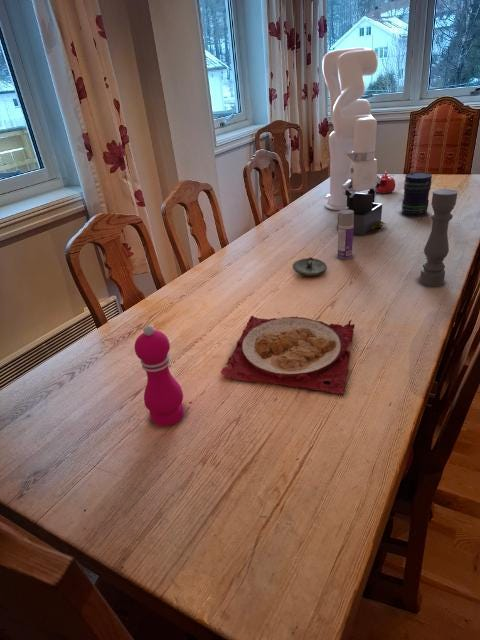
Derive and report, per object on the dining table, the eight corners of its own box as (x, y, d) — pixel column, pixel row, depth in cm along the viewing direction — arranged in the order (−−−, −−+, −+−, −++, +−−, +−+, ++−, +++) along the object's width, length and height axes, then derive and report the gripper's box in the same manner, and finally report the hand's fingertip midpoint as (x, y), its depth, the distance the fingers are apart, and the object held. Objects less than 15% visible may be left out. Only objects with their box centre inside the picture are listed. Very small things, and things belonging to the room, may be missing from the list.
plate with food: (251, 322, 110) (250, 310, 108) (354, 329, 102) (355, 316, 100) (219, 380, 91) (217, 367, 89) (343, 394, 83) (343, 380, 81)
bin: (356, 218, 172) (358, 187, 166) (380, 221, 166) (383, 189, 160) (337, 231, 161) (338, 198, 155) (362, 235, 155) (365, 200, 149)
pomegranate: (386, 188, 210) (388, 168, 205) (399, 192, 201) (401, 171, 197) (368, 191, 207) (370, 171, 203) (381, 195, 199) (382, 175, 194)
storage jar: (432, 212, 172) (437, 174, 164) (416, 218, 167) (421, 179, 160) (411, 208, 179) (415, 171, 172) (395, 213, 175) (399, 176, 167)
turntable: (329, 228, 166) (329, 227, 166) (357, 218, 173) (357, 217, 173) (362, 238, 154) (362, 237, 154) (390, 226, 162) (390, 225, 162)
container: (351, 253, 143) (353, 209, 135) (353, 259, 139) (355, 213, 131) (336, 254, 143) (338, 209, 136) (338, 259, 139) (339, 214, 132)
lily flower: (383, 220, 168) (384, 208, 166) (389, 230, 158) (391, 218, 156) (352, 221, 170) (353, 210, 168) (356, 232, 160) (357, 220, 157)
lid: (305, 266, 140) (301, 252, 138) (332, 264, 134) (329, 249, 132) (289, 280, 133) (285, 266, 131) (317, 279, 127) (313, 263, 125)
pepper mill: (150, 404, 85) (129, 318, 75) (186, 400, 85) (170, 313, 75) (146, 430, 79) (123, 340, 69) (186, 425, 79) (167, 334, 69)
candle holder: (442, 277, 122) (457, 188, 109) (444, 287, 117) (459, 195, 104) (419, 276, 124) (431, 188, 111) (419, 285, 119) (432, 195, 106)
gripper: (350, 162, 145) (348, 211, 154) (390, 154, 151) (385, 202, 160) (336, 159, 151) (335, 207, 160) (375, 151, 157) (371, 198, 166)
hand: (360, 204), depth 160 cm, fingers open, 9 cm apart
